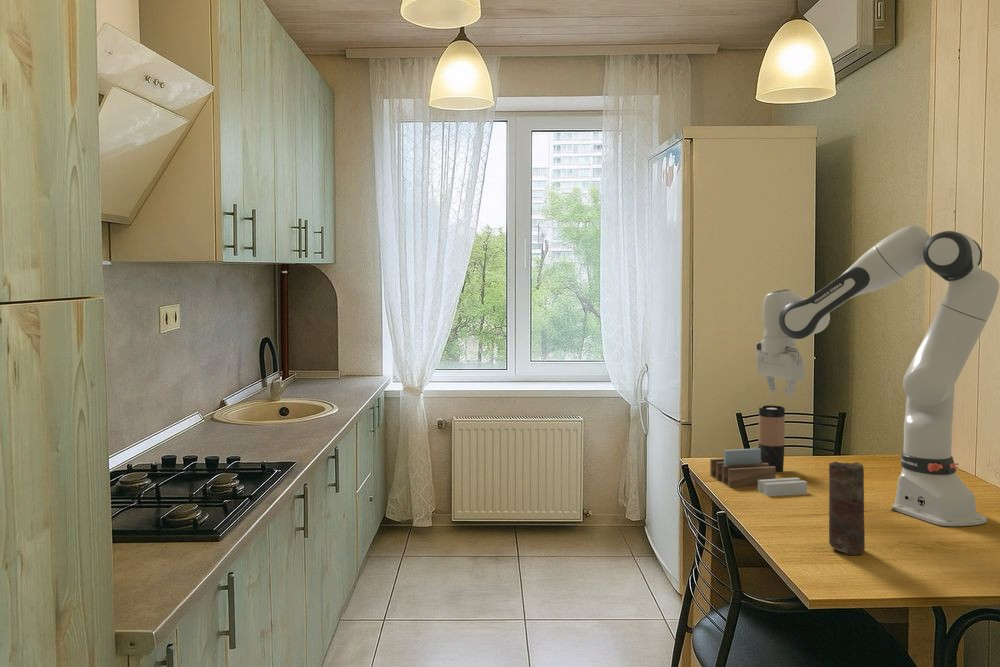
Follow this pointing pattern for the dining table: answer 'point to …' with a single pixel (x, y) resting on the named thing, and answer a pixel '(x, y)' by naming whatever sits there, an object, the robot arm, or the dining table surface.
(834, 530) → the dark brown tall block
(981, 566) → the dining table surface
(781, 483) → the plate stand
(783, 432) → the travel mug
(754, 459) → the side plate
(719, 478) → the dish rack
